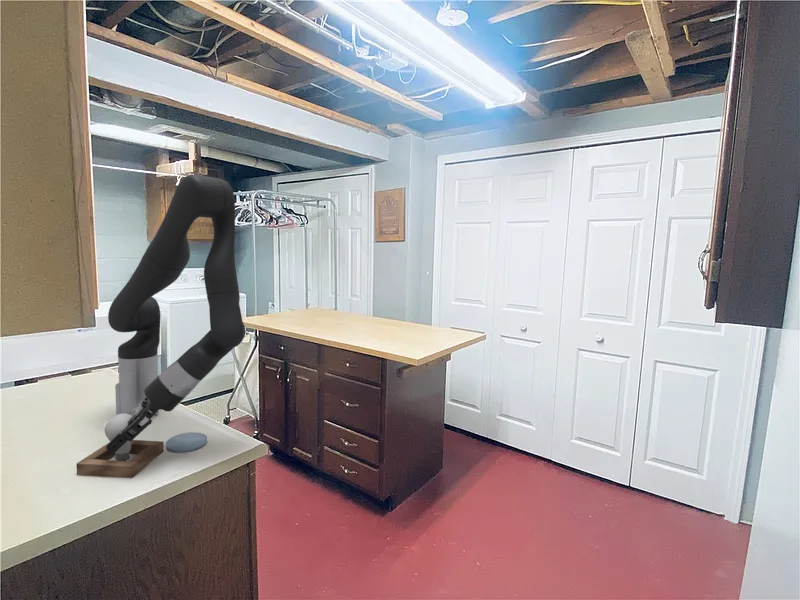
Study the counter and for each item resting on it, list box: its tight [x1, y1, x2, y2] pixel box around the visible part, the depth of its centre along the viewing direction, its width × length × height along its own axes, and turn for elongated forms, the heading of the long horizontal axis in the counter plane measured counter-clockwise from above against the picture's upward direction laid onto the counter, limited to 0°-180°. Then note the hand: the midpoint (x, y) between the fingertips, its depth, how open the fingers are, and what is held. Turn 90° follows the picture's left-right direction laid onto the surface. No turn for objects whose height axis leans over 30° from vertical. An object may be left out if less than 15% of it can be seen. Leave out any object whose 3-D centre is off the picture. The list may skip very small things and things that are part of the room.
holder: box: [76, 439, 165, 479], centre depth 94 cm, size 12×12×2 cm
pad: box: [165, 431, 208, 454], centre depth 104 cm, size 9×9×1 cm
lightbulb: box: [104, 413, 134, 461], centre depth 93 cm, size 6×6×11 cm
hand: (112, 443), depth 92 cm, fingers closed on lightbulb, 6 cm apart
